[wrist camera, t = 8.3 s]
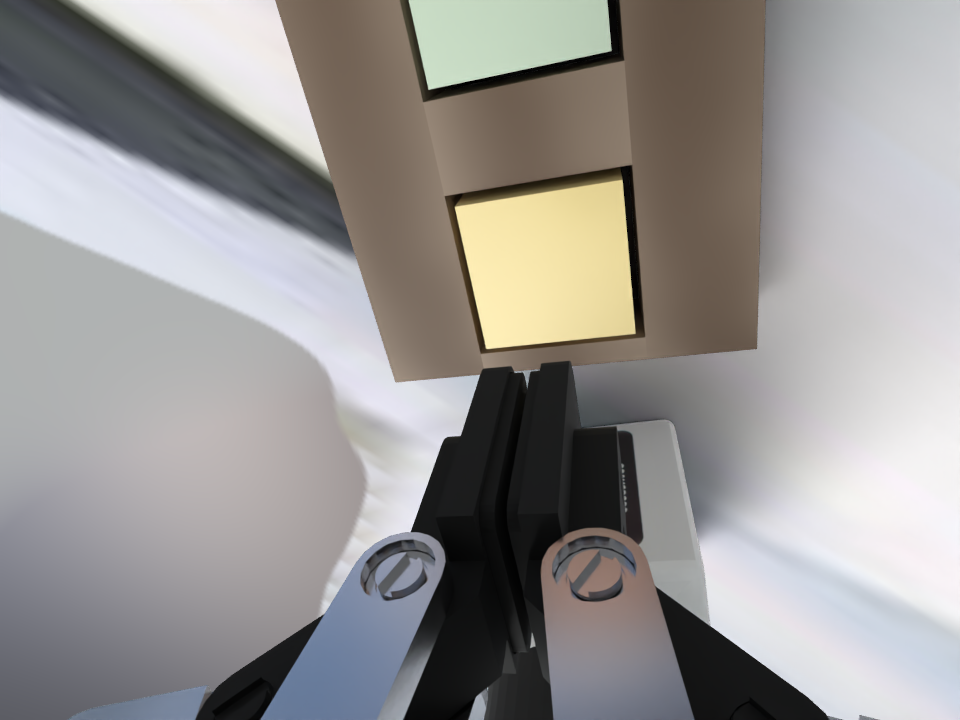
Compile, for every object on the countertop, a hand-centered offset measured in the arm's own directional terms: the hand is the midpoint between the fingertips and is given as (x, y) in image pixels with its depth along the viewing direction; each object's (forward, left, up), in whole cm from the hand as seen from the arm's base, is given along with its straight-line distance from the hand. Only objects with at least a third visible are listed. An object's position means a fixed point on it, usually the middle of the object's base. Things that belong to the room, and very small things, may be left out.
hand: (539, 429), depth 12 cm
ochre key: (0, 0, -11) cm, 11 cm away
